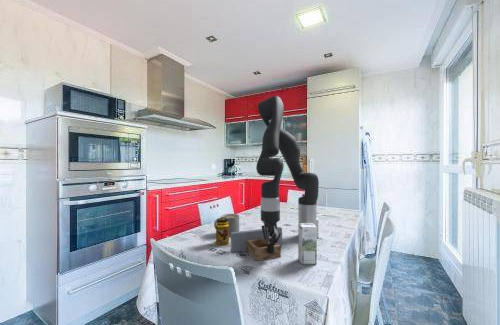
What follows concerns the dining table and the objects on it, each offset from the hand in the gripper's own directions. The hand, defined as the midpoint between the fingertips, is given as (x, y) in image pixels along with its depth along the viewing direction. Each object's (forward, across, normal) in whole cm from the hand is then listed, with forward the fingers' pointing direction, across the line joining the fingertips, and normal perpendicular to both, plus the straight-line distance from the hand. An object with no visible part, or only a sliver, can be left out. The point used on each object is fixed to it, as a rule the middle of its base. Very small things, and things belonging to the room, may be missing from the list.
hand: (270, 252), depth 88 cm
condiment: (+3, +25, +14) cm, 29 cm away
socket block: (+3, +7, 0) cm, 8 cm away
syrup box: (+3, -6, -13) cm, 14 cm away
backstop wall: (+3, +14, 0) cm, 14 cm away
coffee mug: (+3, +38, +8) cm, 39 cm away
